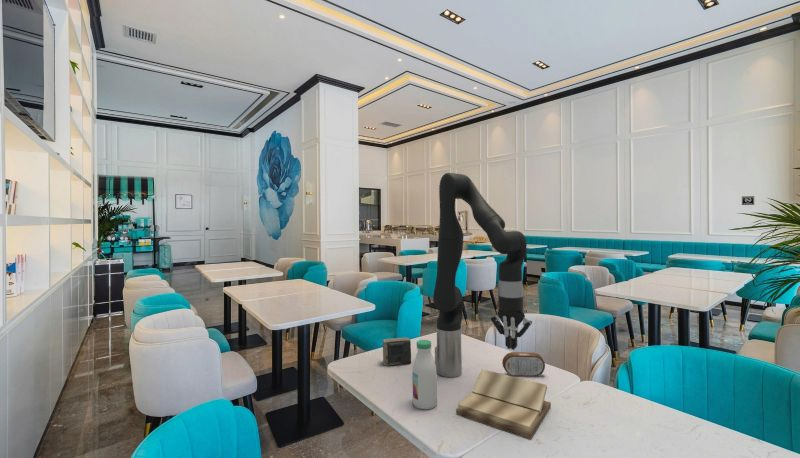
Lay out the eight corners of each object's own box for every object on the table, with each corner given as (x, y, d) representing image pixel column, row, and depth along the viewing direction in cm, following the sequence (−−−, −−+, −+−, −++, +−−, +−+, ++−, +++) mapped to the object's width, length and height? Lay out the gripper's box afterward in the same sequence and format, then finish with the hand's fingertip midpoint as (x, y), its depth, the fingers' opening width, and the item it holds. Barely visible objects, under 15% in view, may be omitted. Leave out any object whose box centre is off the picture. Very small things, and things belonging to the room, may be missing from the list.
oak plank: (473, 394, 117) (472, 391, 117) (482, 371, 123) (481, 368, 122) (540, 413, 105) (539, 410, 104) (547, 387, 111) (546, 384, 110)
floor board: (456, 414, 109) (455, 404, 109) (483, 388, 125) (483, 379, 125) (530, 439, 96) (530, 428, 96) (550, 407, 112) (550, 397, 112)
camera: (409, 359, 152) (409, 336, 152) (412, 365, 146) (411, 340, 146) (382, 361, 150) (382, 337, 150) (383, 367, 145) (383, 342, 145)
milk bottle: (439, 399, 118) (438, 338, 117) (434, 412, 111) (432, 346, 110) (416, 396, 120) (415, 336, 120) (409, 408, 113) (408, 344, 113)
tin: (543, 374, 135) (543, 351, 135) (546, 377, 132) (545, 355, 132) (502, 373, 137) (501, 351, 137) (503, 377, 134) (503, 354, 134)
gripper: (535, 294, 114) (536, 349, 115) (494, 290, 122) (495, 341, 123) (528, 298, 108) (529, 356, 108) (485, 294, 116) (486, 347, 117)
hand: (511, 348), depth 116 cm, fingers closed
